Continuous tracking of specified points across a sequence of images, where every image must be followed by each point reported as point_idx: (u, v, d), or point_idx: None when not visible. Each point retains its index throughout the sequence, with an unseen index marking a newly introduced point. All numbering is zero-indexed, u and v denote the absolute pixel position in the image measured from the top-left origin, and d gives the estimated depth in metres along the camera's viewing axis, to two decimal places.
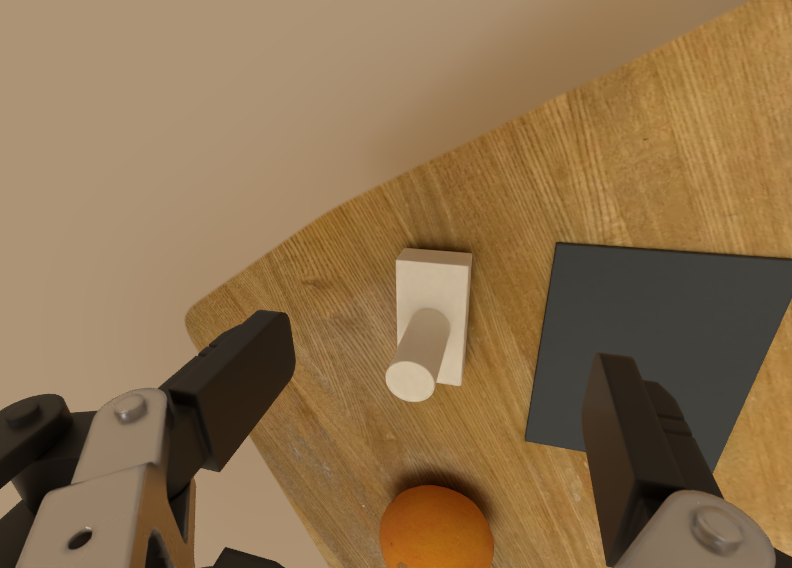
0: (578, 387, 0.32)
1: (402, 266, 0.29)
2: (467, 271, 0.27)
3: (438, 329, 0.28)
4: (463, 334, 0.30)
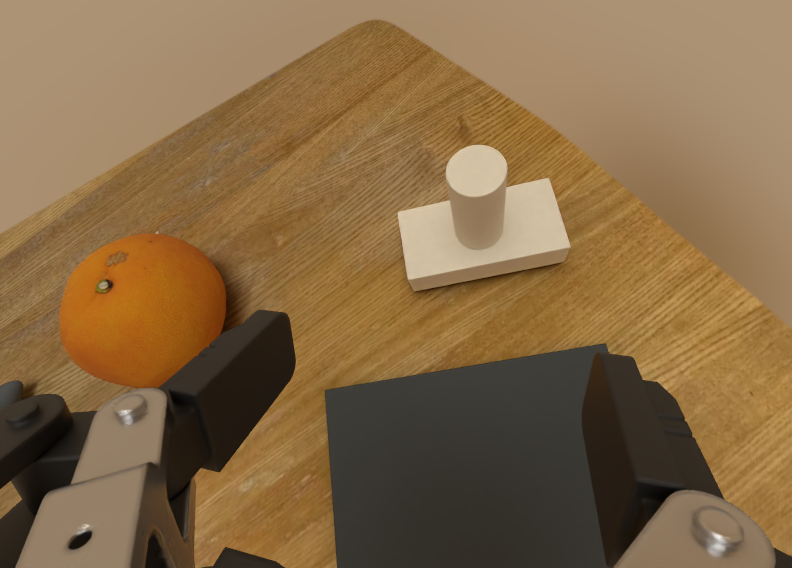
0: (427, 426, 0.26)
1: (543, 185, 0.26)
2: (564, 247, 0.25)
3: (501, 221, 0.24)
4: (481, 264, 0.26)
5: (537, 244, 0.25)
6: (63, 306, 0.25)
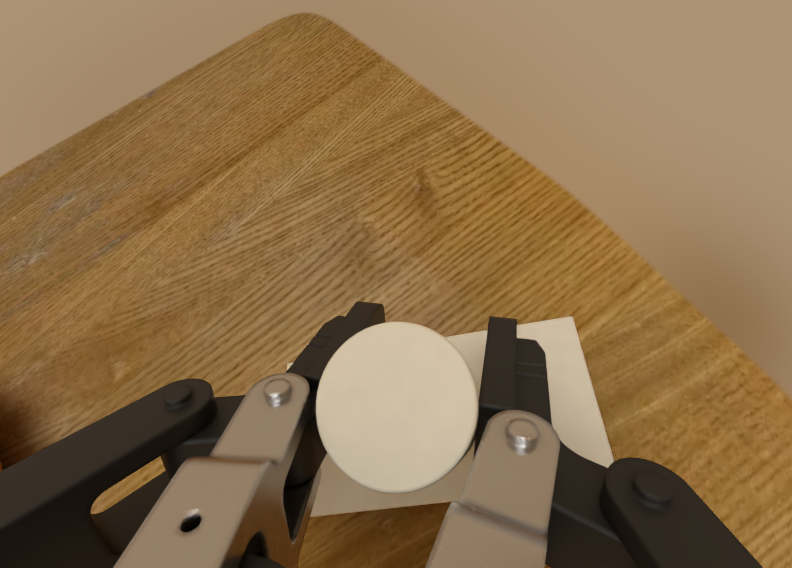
0: None
1: (562, 332, 0.13)
2: None
3: (474, 442, 0.11)
4: (435, 501, 0.13)
5: None
6: None
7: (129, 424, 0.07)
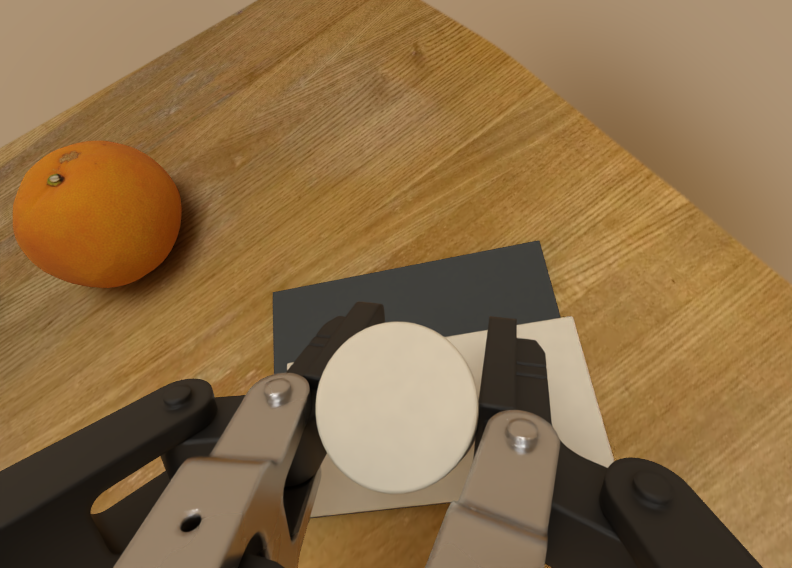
0: None
1: (562, 332, 0.13)
2: None
3: (474, 443, 0.11)
4: (435, 501, 0.13)
5: None
6: (16, 199, 0.26)
7: (129, 424, 0.07)
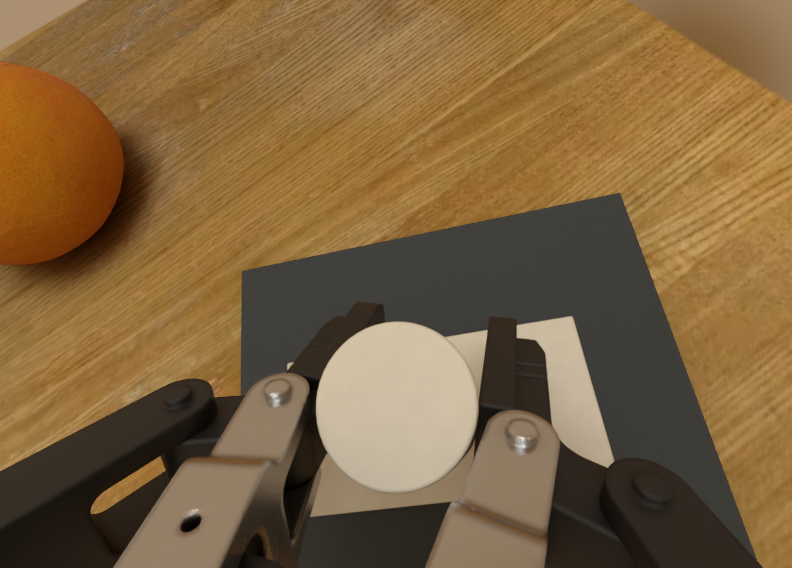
0: None
1: (562, 332, 0.13)
2: None
3: (474, 442, 0.11)
4: (435, 500, 0.13)
5: None
6: None
7: (129, 424, 0.07)
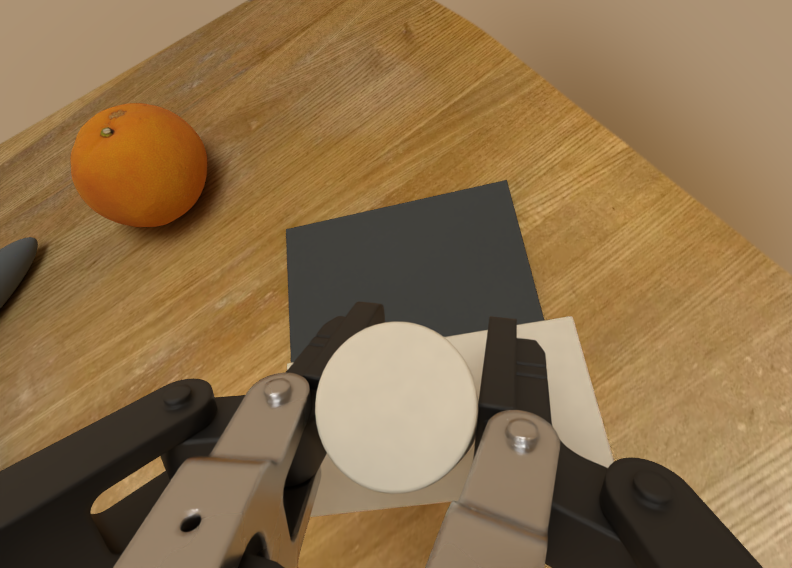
0: (365, 248, 0.32)
1: (562, 332, 0.13)
2: None
3: None
4: (435, 501, 0.13)
5: None
6: (74, 148, 0.32)
7: (129, 424, 0.07)
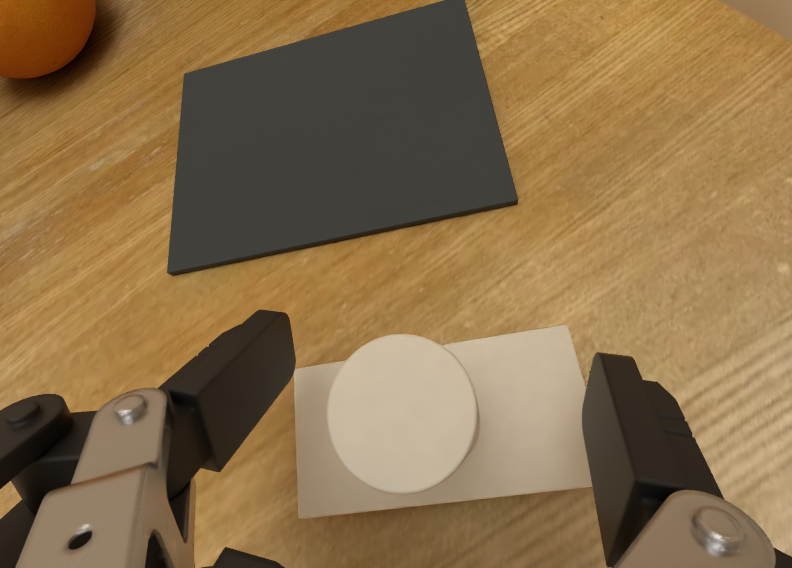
0: (279, 86, 0.25)
1: (558, 339, 0.14)
2: None
3: None
4: (437, 501, 0.13)
5: (546, 470, 0.13)
6: None
7: None
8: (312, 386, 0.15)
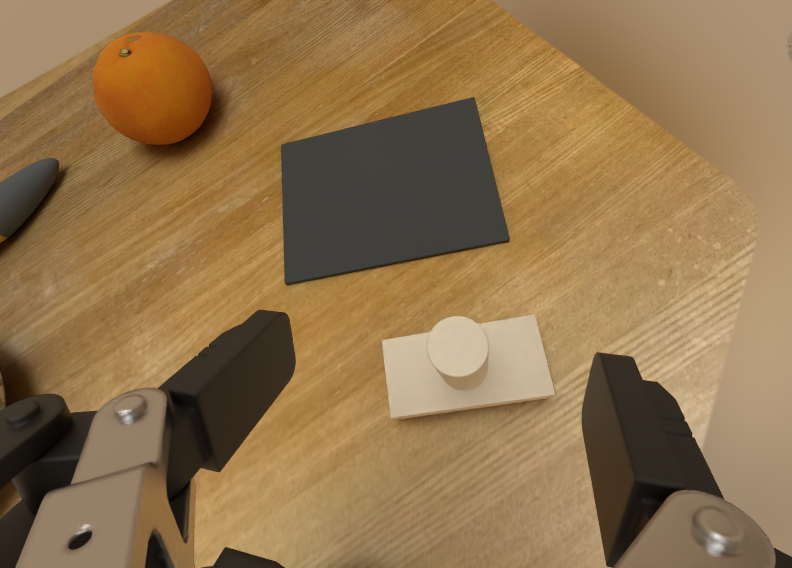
0: (350, 157, 0.37)
1: (529, 322, 0.26)
2: (548, 394, 0.24)
3: (485, 373, 0.24)
4: (465, 406, 0.25)
5: (521, 388, 0.25)
6: (96, 67, 0.36)
7: None
8: (393, 349, 0.27)
